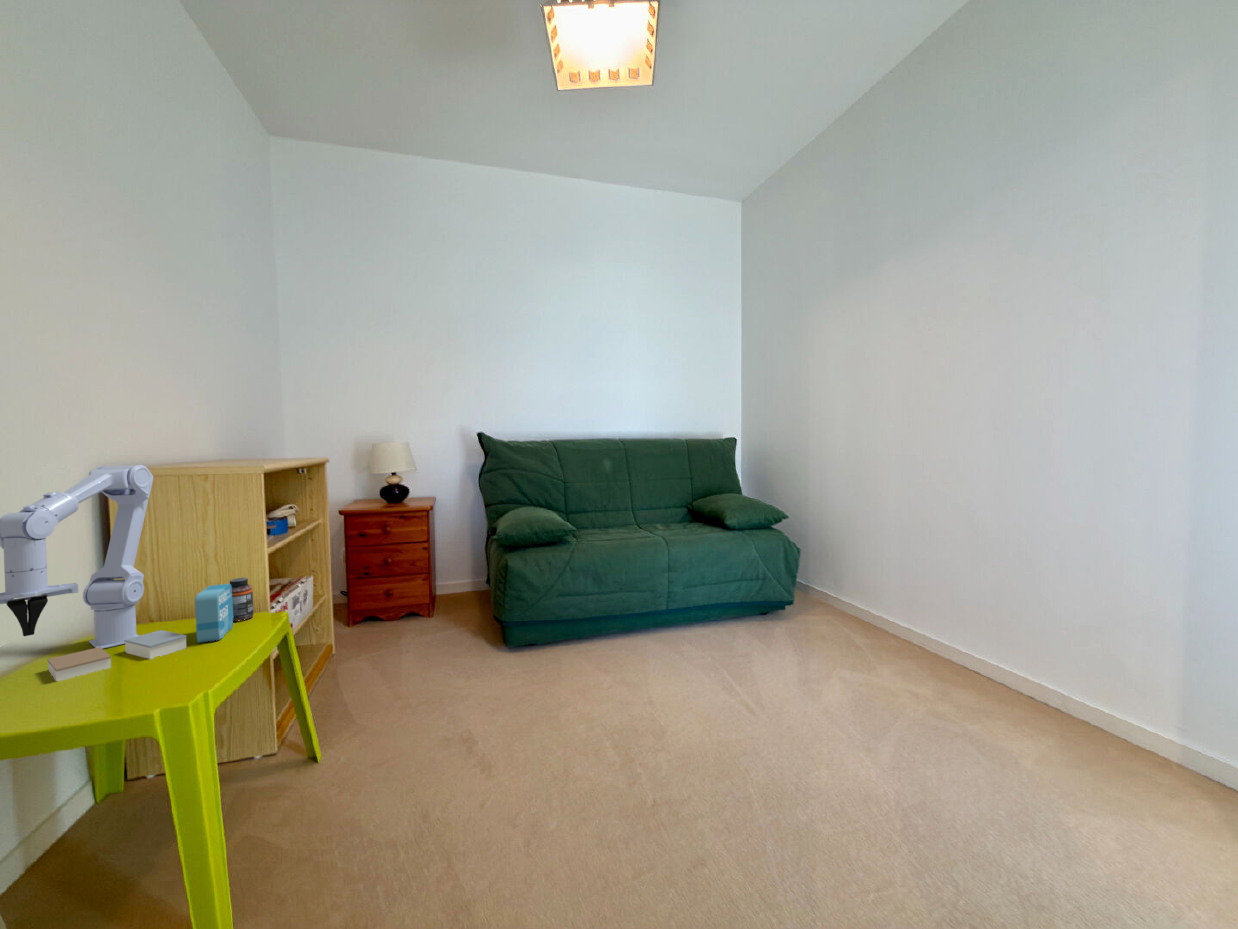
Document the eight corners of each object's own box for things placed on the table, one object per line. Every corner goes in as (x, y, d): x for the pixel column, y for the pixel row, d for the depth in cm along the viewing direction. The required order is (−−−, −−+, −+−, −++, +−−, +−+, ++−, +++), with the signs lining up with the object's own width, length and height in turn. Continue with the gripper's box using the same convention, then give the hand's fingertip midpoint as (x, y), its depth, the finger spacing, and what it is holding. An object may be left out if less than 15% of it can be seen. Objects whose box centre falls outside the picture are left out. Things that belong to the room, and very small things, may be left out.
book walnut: (48, 672, 109) (47, 659, 109) (100, 660, 116) (99, 647, 115) (56, 684, 103) (56, 669, 103) (111, 670, 110) (110, 656, 110)
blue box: (219, 641, 124) (217, 593, 124) (196, 645, 123) (194, 595, 122) (233, 626, 135) (231, 582, 135) (212, 629, 134) (210, 584, 133)
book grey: (124, 654, 119) (124, 640, 118) (161, 643, 125) (160, 630, 125) (150, 661, 114) (150, 646, 114) (187, 649, 121) (186, 635, 121)
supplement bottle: (230, 617, 143) (229, 578, 143) (256, 614, 146) (254, 575, 145) (224, 624, 138) (222, 582, 137) (250, 620, 140) (248, 580, 140)
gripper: (-30, 579, 97) (-27, 649, 97) (80, 565, 109) (82, 628, 109) (-32, 575, 101) (-29, 642, 101) (74, 561, 113) (76, 622, 113)
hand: (28, 634), depth 105 cm, fingers closed
